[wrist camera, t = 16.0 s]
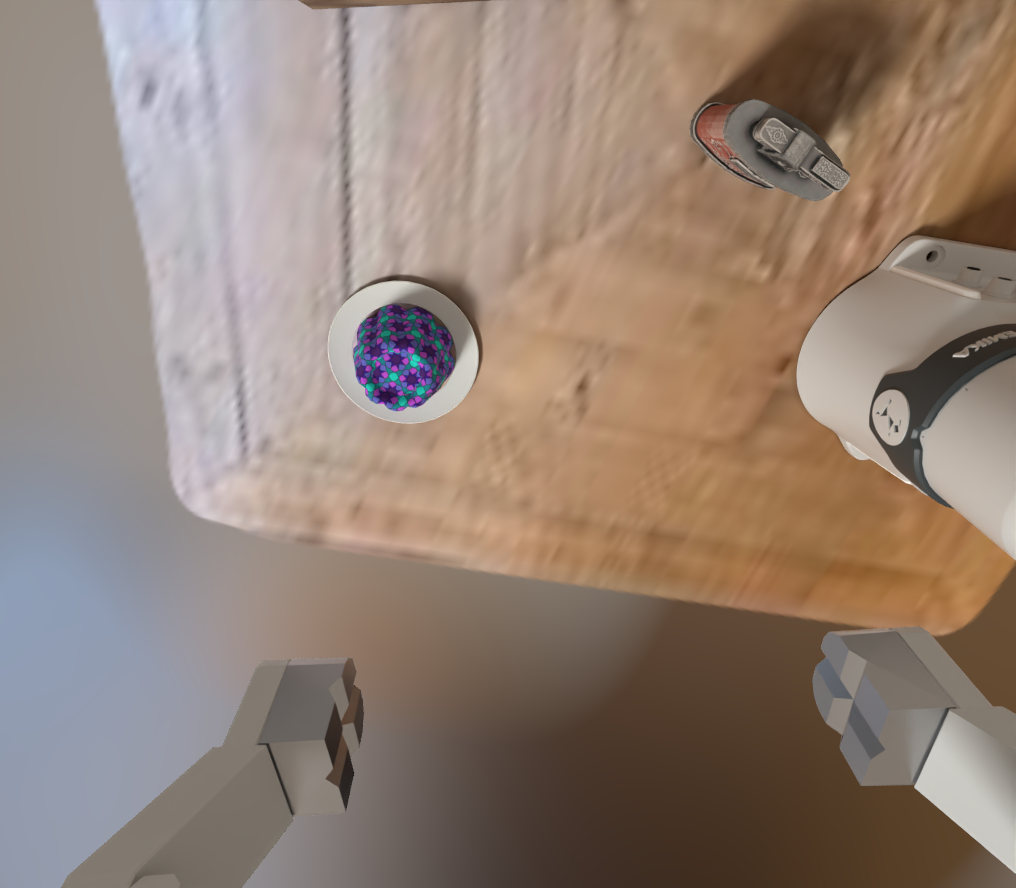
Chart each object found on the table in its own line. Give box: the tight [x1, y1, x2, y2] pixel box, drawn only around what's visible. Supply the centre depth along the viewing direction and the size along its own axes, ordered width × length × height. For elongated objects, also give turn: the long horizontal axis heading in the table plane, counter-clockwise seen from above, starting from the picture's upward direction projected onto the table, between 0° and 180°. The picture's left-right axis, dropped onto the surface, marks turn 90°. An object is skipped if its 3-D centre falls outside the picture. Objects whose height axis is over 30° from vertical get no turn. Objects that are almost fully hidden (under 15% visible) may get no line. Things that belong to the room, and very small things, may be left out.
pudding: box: [327, 281, 479, 423], centre depth 47 cm, size 12×12×5 cm
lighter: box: [690, 99, 850, 201], centre depth 38 cm, size 8×3×10 cm, turn 60°
